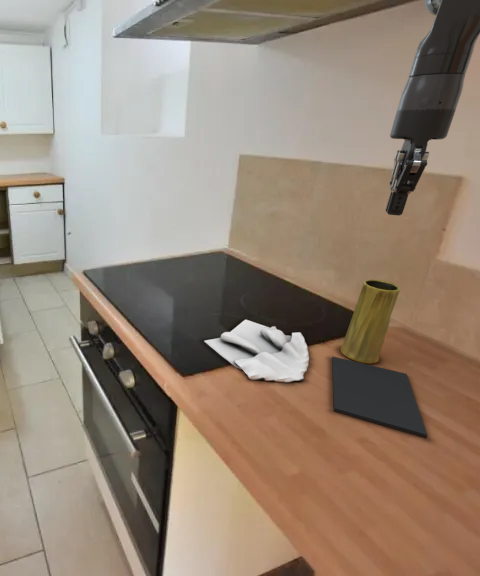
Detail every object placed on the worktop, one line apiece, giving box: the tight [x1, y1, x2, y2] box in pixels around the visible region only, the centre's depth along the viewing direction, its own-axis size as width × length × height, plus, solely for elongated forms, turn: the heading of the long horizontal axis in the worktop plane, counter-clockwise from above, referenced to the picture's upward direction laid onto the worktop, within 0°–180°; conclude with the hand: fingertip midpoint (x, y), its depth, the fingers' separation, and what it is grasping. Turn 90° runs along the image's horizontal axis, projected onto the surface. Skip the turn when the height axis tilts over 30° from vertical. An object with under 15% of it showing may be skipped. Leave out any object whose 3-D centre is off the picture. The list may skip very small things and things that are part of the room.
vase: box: [340, 278, 401, 365], centre depth 68 cm, size 6×6×14 cm
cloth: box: [203, 319, 310, 384], centre depth 73 cm, size 20×22×2 cm
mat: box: [331, 356, 428, 438], centre depth 61 cm, size 11×16×1 cm
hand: (393, 213), depth 69 cm, fingers closed
